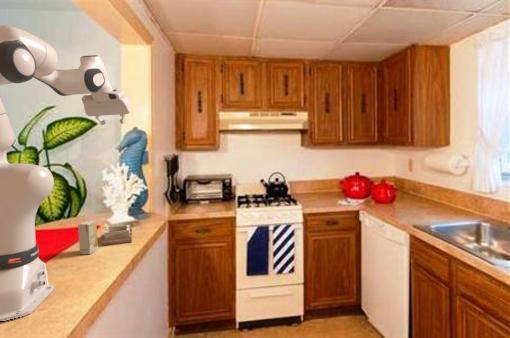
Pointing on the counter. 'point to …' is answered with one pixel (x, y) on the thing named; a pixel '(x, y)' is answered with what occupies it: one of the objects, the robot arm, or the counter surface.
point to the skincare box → (88, 237)
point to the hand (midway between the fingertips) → (113, 123)
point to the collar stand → (117, 235)
